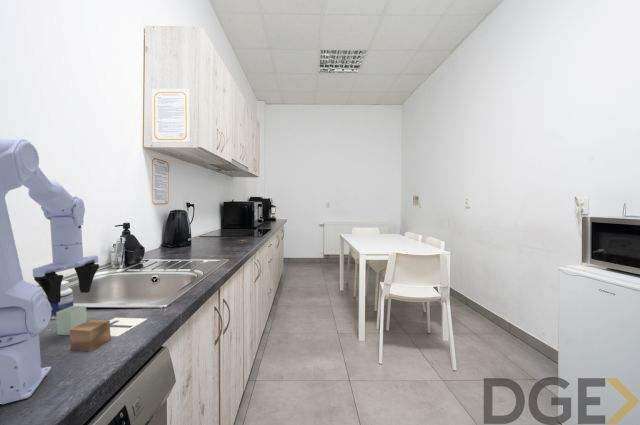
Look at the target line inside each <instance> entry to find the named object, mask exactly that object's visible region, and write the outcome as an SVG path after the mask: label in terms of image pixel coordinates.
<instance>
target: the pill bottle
mask: <svg viewBox="0 0 640 425" xmlns="http://www.w3.org/2000/svg"><path fill="white" fill-rule="evenodd" d="M69 286H70V281H68V280H62V282H61V289H60V292H61V299H60V303H50V302H49V303H50V305H51V318H50V320H57V316H56V312H58V311H61V310H63V309H66V308H69V307H71V306H74V292H73V289H72V288H71V287H69ZM47 300H48V299H47ZM48 301H49V300H48Z"/></svg>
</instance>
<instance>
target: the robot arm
mask: <svg viewBox="0 0 640 425" xmlns="http://www.w3.org/2000/svg"><path fill="white" fill-rule="evenodd" d="M39 164H40V158H39V153H38V150H37V149H36V146H34V145H33V143H31V142H30V141H29V140H28V139H24V138H17V139H7V138H0V404H2V405H5V404H9V403H13V402H16V401H21V400H25V399H28V398H30V397H31V396H32V395H33V393H34V392H35V391H36V389H37V388H38V387H39V386H40V385H41V383H42V382H43V380H44V379H45V377H46V376H47V374H48V373H49V372H50V371H51V369H52V366H46V367H42V363H41V362H42V361H41V351H40V350H41V348H40V347H41V346H40V333H41V332H42V331H44V329H46V328H47V326H48V324H49V323H50V321H51V319H50V318H51V305H50V303H60V299H61V292H60V289H61V282H62V281H63V278H64V275H63V274H58V273H59V272H62V271H66V270H71V269H74V271H75V272H76V275H77V279H78V286H79V291H80V293H81V294H82V293H88V294H89V293H90V291H91V288H92V283H93V280H94V278H95V275H96V273H97V272H98V270H99V268H100V264H99V255H88V256H84V250H83V249H84V248H83V234H82V233H83V231H82V225H84V216H85V212H86V207H85V203H84V201H83V199H82V198H79V197H78V196H72V195H71V194H70V193H69V191H67V189H66V188H65V187H64V186H63V185H62V184H61V183H60V182H59V181H57V180H56V179H49V178H48V177H47V176H46V174H45V173H44V172H43V171H42V170H41V168H40V167H39ZM22 186H24V187H26V188H27V189H28V196H29V197H30V199H32V200H33V201H34V202H35V203H37V204H38V205H39V206H40V208H41V211H42V212H43V215H44V218H45V219H46V220H49V222H50V227H49V228H50V239H51V254H52V262H51V263H48V264H45V265H42V266H38V267H34V268H32V277H33V278H34V281H35V282H36V283H37V284H38V285H39V286H40V287H39V286H37V285H35V284H33V283H30V282H28V281H25V280H24V277H23V272H22V269H21V263H20V259H19V255H18V250H17V245H16V241H15V238H14V233H13V228H12V224H11V220H10V214H9V210H8V206H7V201H6V195H7V194H8V193H9V192H10V191H12V190H16V189H19V188H21V187H22ZM48 300H49V301H48ZM49 302H50V303H49Z"/></svg>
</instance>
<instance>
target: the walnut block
mask: <svg viewBox="0 0 640 425" xmlns="http://www.w3.org/2000/svg"><path fill="white" fill-rule="evenodd" d="M111 337H112V336H110V320H101V319H98V320H97V319H90V320H87V322H85V323H83V324H81V325H79V326H77V327H74V328H72V329H70V335H69V340H70V343H69V344H70V351H84V352H85V351H86V352H91V351H93V350H95V349H97V348H98V347H100V346H102V345H104V344H105V343H108V342H109V341H111V339H112V338H111Z"/></svg>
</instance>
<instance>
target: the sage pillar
mask: <svg viewBox="0 0 640 425" xmlns="http://www.w3.org/2000/svg"><path fill="white" fill-rule="evenodd" d="M56 316H57V319H56V330H57V335H58V336H59V335H63V336H70V329H72V328H74V327H77V326H79V325H81V324H83V323H85V322H88V319H87V318H88V316H87V306H84V305H82V306H79V305H77V306H76V305H73V306H71V307H69V308H66V309H63V310H61V311H58V312H56Z"/></svg>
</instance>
